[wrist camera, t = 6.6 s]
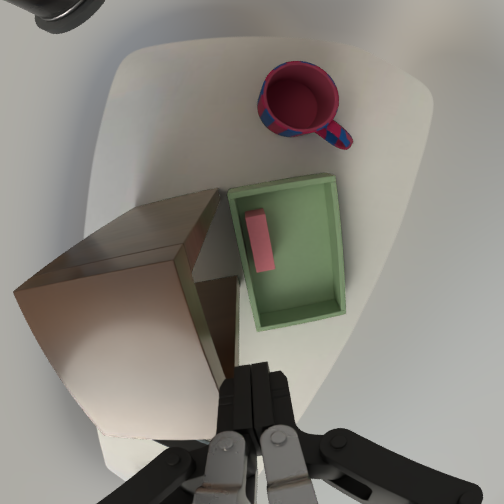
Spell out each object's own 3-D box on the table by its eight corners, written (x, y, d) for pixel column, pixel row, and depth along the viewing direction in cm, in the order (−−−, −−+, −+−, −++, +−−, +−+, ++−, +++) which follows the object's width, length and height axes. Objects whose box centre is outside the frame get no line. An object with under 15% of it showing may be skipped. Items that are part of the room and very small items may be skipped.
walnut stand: (134, 207, 31) (12, 291, 11) (217, 187, 30) (173, 259, 11) (162, 299, 35) (103, 435, 15) (239, 286, 35) (239, 437, 15)
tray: (228, 189, 31) (227, 193, 27) (325, 172, 30) (335, 175, 27) (255, 316, 36) (256, 332, 33) (337, 299, 36) (346, 314, 32)
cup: (288, 67, 26) (300, 47, 20) (350, 132, 29) (377, 130, 22) (244, 105, 27) (244, 93, 21) (309, 171, 30) (326, 177, 24)
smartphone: (193, 457, 47) (128, 428, 44) (193, 454, 48) (129, 425, 44) (213, 446, 46) (144, 415, 42) (213, 442, 46) (145, 411, 43)
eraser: (263, 207, 31) (244, 211, 31) (265, 213, 28) (245, 217, 28) (272, 258, 33) (255, 262, 33) (275, 269, 30) (256, 272, 30)
